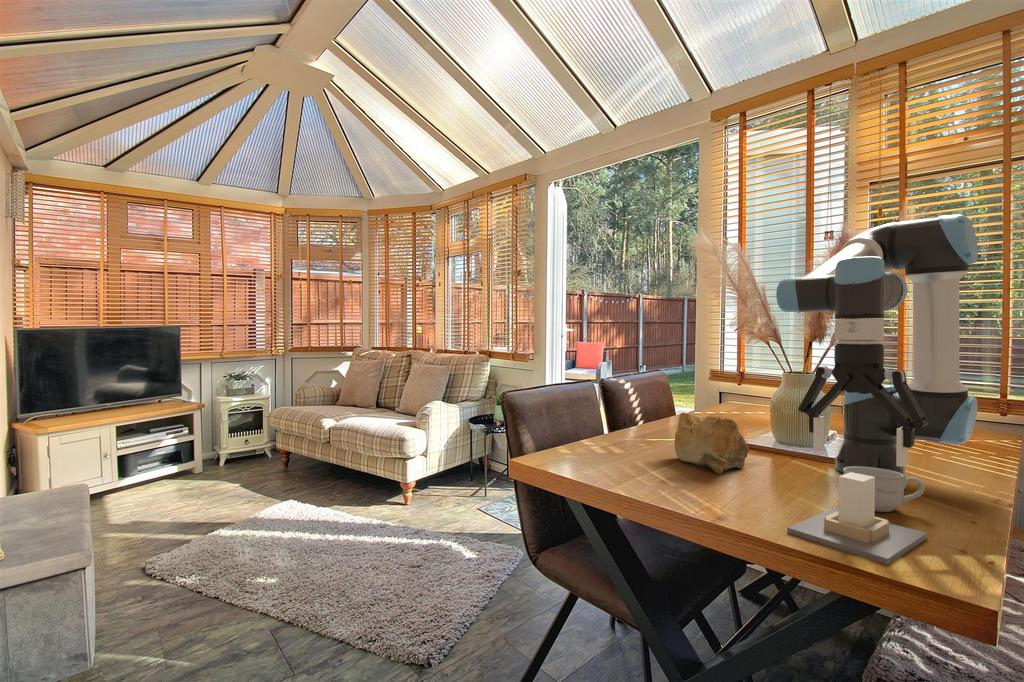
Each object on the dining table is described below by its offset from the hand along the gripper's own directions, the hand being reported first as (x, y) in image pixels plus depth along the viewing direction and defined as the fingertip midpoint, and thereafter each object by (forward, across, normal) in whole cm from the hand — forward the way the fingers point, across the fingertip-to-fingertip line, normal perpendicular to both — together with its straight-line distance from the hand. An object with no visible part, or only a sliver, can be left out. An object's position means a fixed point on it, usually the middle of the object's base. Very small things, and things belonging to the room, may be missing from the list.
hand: (857, 457), depth 95 cm
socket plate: (+14, 0, -1) cm, 15 cm away
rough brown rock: (+15, -43, +21) cm, 50 cm away
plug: (+14, 0, -1) cm, 14 cm away
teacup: (+15, -3, +19) cm, 25 cm away
